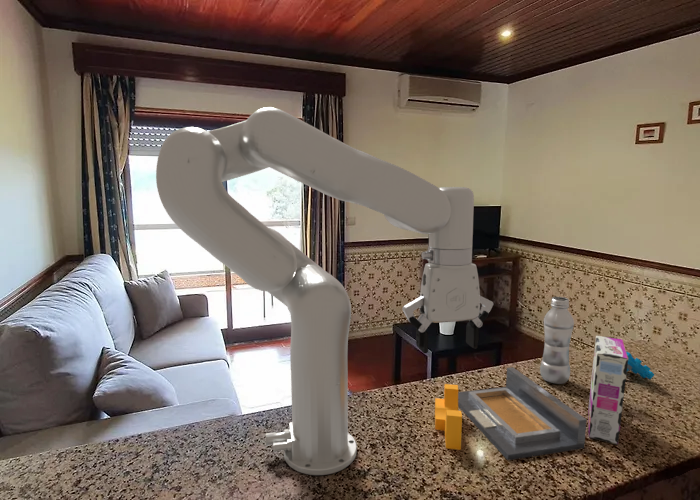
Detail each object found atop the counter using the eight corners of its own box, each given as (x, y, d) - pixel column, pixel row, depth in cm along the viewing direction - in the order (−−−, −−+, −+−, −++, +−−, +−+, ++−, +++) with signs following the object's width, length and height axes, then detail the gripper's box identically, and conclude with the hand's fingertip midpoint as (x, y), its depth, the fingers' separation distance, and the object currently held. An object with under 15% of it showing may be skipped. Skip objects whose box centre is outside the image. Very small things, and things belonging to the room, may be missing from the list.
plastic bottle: (536, 382, 100) (542, 299, 97) (542, 372, 106) (547, 293, 102) (566, 390, 96) (573, 304, 93) (571, 379, 102) (578, 297, 99)
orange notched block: (434, 412, 87) (435, 383, 86) (456, 414, 87) (457, 385, 86) (435, 448, 76) (436, 414, 75) (460, 450, 75) (462, 416, 74)
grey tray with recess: (507, 460, 72) (509, 430, 71) (450, 397, 93) (450, 373, 92) (584, 448, 75) (586, 419, 74) (511, 390, 96) (513, 367, 96)
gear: (665, 380, 97) (636, 351, 97) (648, 399, 97) (619, 370, 96) (628, 366, 108) (602, 340, 108) (613, 383, 108) (587, 357, 107)
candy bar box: (620, 446, 76) (629, 358, 73) (588, 438, 78) (595, 353, 76) (616, 416, 85) (624, 338, 83) (587, 410, 88) (594, 334, 85)
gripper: (411, 262, 71) (410, 360, 73) (505, 258, 74) (501, 351, 77) (397, 255, 78) (396, 344, 81) (483, 251, 82) (479, 337, 84)
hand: (447, 348), depth 79 cm, fingers open, 9 cm apart
